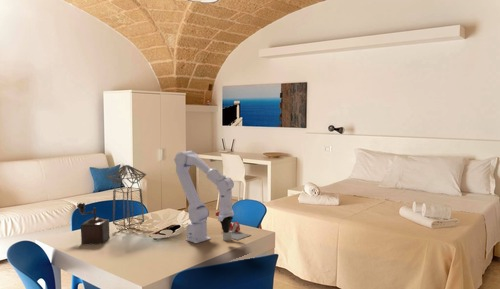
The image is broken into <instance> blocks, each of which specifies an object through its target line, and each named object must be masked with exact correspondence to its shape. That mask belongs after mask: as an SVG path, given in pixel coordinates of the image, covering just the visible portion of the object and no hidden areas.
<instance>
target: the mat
mask: <svg viewBox="0 0 500 289" xmlns="http://www.w3.org/2000/svg"><path fill="white" fill-rule="evenodd" d="M247 236H248V237H251V236H252V235H251V234H248V233H245V232H241V231H236V232H234V233H233V232H232V240H234V241H240V240H242V239H245V238H247ZM239 239H240V240H239Z"/></svg>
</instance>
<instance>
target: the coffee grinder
mask: <svg viewBox="0 0 500 289" xmlns="http://www.w3.org/2000/svg"><path fill="white" fill-rule="evenodd" d="M76 206H77V209H78V210H79V213H80V215H90V214H93V217H91V218H90V219H88V220H86V221H84V222H83V223H82V224H80V237H81V238H80V239H81V242H80V243H81V245H103V244H104V243H105V242H106V241H108V240H109V239H110V237H111V236H110V219H109V218H108V219H106V218H105V219H104V218H101V217H99V215H97V213H96V212H97V210H96V209H97V208H96V207H93V208H92V209H93V210H92V211H87V212H86V209H85V207H86V203H84V202H80V203H78V204H76Z"/></svg>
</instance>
